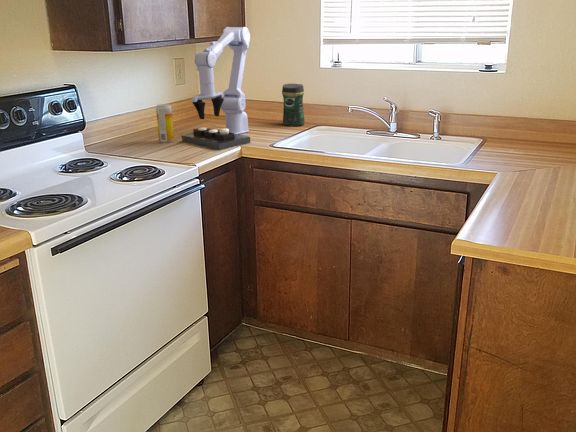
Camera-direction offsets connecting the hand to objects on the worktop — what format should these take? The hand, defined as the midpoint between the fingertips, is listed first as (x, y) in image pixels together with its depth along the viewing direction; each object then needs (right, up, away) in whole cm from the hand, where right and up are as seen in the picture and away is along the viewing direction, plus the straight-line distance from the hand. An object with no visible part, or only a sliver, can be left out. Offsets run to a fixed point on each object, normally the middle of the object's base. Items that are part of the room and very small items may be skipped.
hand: (209, 117), depth 235 cm
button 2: (+2, -7, 0) cm, 7 cm away
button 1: (-3, -6, +5) cm, 8 cm away
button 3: (+7, -8, -5) cm, 11 cm away
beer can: (-18, -9, +5) cm, 21 cm away
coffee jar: (+34, +2, +33) cm, 47 cm away
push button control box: (+1, -9, +2) cm, 10 cm away
